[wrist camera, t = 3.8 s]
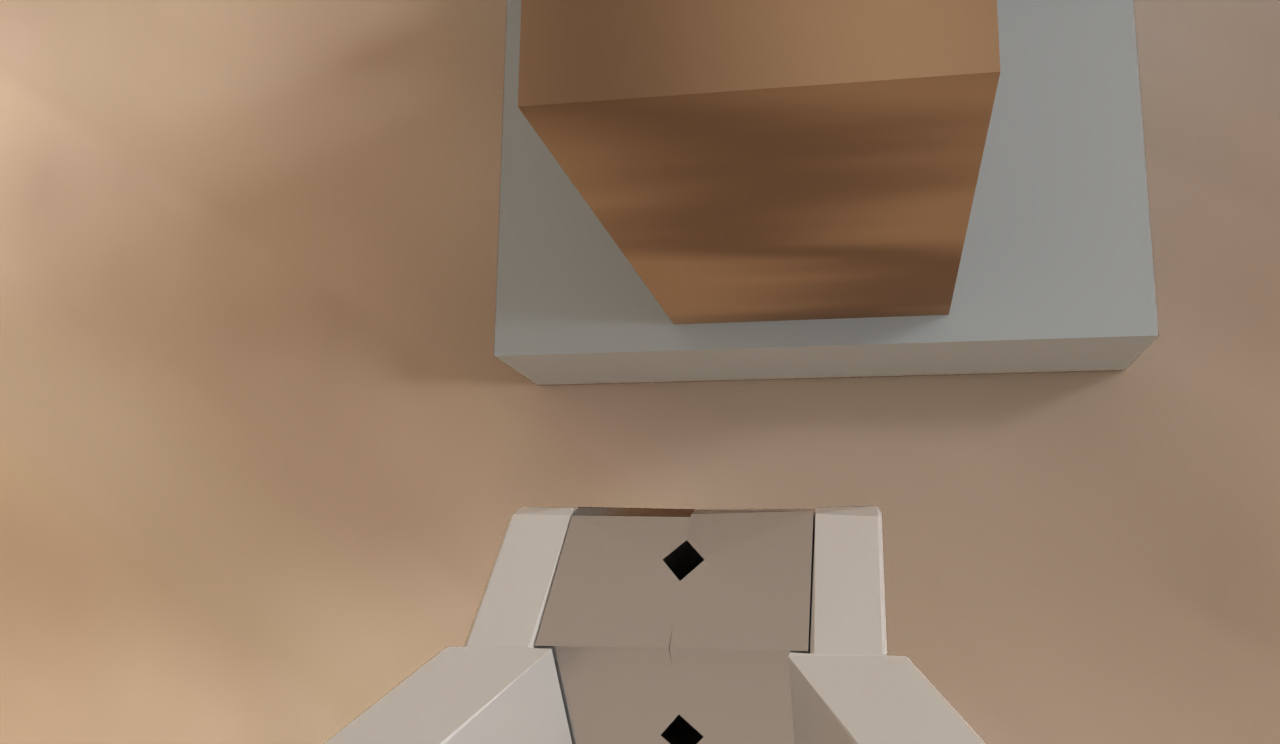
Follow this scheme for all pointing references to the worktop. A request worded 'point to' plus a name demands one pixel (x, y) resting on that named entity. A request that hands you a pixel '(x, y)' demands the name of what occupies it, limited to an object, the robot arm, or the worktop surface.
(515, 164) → the board
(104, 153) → the worktop surface
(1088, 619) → the worktop surface
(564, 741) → the robot arm
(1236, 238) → the worktop surface
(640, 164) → the brown boxy piece
